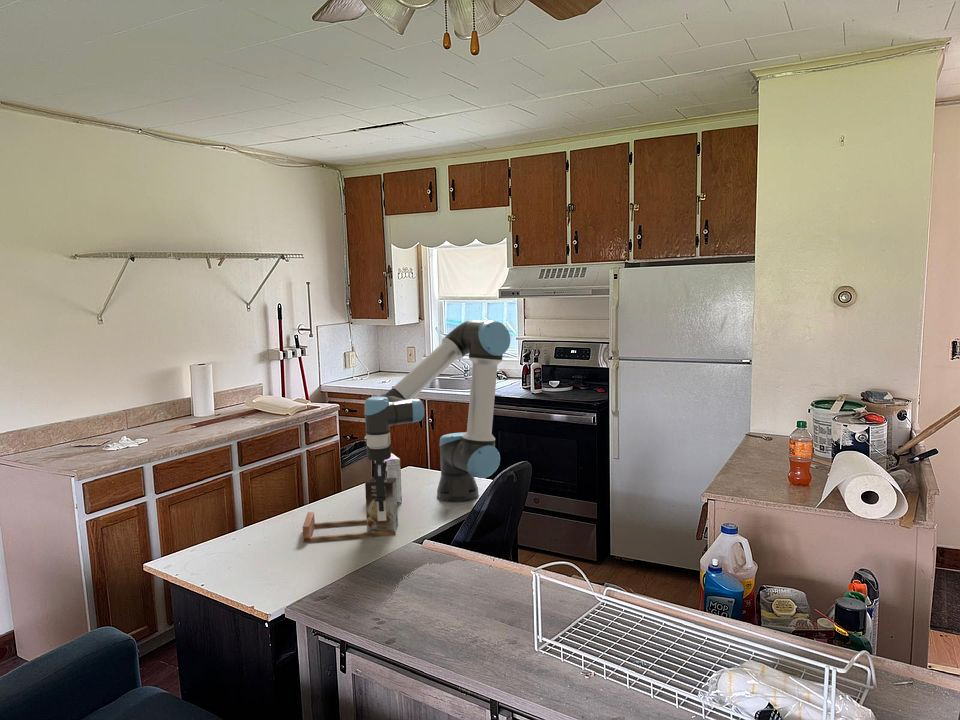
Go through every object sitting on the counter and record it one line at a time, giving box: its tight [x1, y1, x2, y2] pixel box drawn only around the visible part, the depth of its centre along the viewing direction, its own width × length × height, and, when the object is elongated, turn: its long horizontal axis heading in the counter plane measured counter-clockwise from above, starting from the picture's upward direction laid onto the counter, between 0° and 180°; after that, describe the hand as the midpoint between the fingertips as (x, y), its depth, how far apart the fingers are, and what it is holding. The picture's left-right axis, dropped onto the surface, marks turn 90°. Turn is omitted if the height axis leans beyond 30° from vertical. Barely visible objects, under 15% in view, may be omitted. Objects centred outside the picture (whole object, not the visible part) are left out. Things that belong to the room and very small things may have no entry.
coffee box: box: [364, 476, 399, 532], centre depth 215 cm, size 9×6×16 cm
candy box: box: [374, 452, 403, 505], centre depth 245 cm, size 14×6×16 cm, turn 25°
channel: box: [302, 511, 397, 543], centre depth 214 cm, size 28×13×5 cm, turn 98°
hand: (382, 516), depth 215 cm, fingers closed on coffee box, 7 cm apart
